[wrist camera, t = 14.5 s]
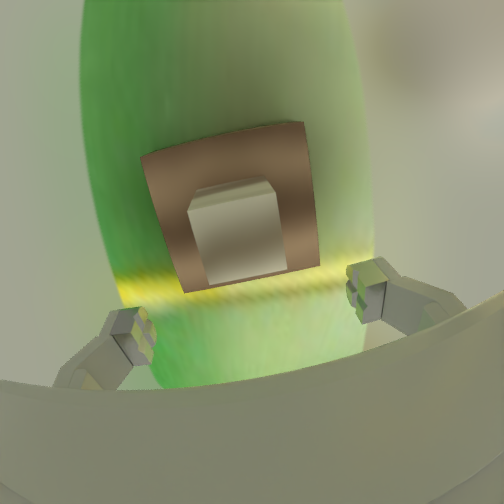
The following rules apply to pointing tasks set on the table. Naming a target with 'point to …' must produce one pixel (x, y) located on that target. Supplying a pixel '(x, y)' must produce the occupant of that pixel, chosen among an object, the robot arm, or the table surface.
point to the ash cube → (238, 230)
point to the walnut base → (228, 170)
